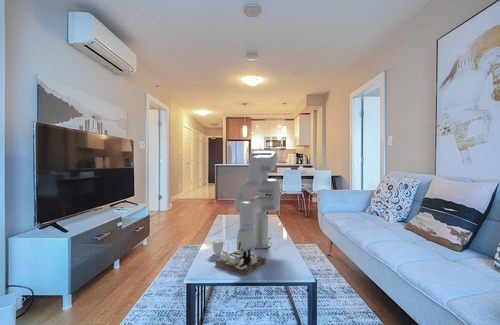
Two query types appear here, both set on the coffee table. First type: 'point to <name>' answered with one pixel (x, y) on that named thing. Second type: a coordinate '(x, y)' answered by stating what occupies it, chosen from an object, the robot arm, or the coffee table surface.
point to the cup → (218, 246)
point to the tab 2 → (253, 259)
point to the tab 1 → (224, 256)
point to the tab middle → (234, 259)
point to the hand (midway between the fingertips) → (246, 263)
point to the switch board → (240, 265)
